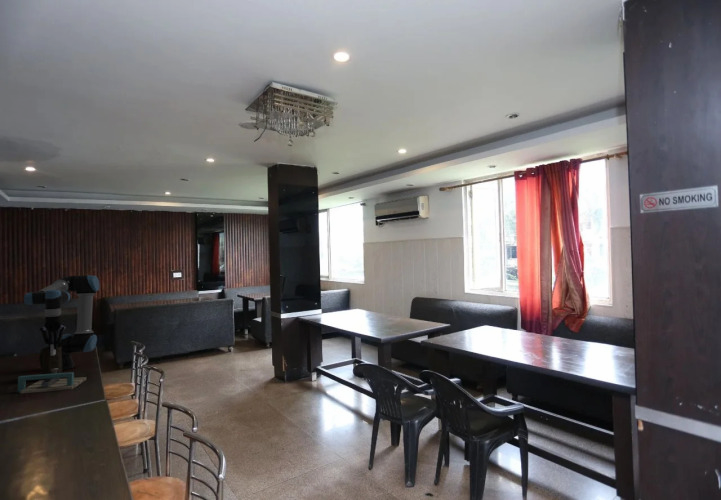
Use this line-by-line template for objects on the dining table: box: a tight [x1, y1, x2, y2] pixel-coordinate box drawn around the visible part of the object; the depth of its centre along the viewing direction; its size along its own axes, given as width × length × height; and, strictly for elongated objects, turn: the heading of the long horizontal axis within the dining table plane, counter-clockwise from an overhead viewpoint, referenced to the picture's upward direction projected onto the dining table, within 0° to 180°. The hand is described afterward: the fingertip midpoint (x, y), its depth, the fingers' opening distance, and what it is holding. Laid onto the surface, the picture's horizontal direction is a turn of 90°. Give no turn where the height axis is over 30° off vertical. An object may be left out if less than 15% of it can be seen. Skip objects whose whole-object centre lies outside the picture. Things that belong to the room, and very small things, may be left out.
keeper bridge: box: [17, 371, 75, 393], centre depth 228 cm, size 2×26×8 cm, turn 105°
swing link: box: [42, 378, 60, 388], centre depth 232 cm, size 15×4×3 cm, turn 17°
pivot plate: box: [19, 368, 87, 395], centre depth 234 cm, size 20×25×9 cm
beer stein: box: [38, 346, 63, 381], centre depth 252 cm, size 15×11×20 cm
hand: (53, 354), depth 236 cm, fingers closed
